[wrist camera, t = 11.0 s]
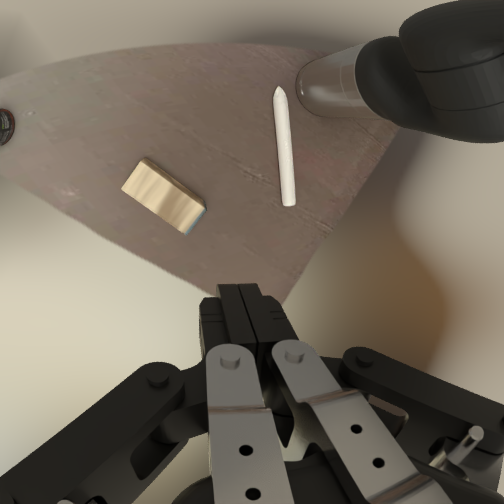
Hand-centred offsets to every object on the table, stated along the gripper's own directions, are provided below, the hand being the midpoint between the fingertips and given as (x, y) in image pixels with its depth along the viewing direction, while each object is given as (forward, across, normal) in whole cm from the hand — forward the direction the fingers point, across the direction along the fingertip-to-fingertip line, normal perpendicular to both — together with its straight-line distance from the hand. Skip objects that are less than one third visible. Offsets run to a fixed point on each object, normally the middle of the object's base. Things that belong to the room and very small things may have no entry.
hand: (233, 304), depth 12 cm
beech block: (+33, 0, +7) cm, 33 cm away
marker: (+36, -12, -4) cm, 38 cm away
